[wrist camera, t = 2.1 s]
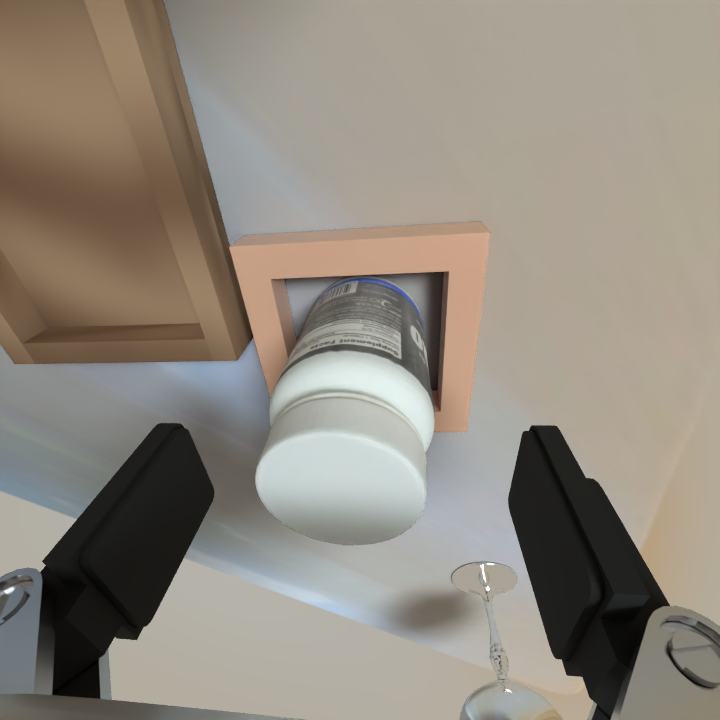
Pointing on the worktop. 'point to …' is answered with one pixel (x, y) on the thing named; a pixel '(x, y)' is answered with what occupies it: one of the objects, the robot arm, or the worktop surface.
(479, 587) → the wineglass
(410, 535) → the worktop surface
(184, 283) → the tray
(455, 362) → the frame
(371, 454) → the pill bottle
